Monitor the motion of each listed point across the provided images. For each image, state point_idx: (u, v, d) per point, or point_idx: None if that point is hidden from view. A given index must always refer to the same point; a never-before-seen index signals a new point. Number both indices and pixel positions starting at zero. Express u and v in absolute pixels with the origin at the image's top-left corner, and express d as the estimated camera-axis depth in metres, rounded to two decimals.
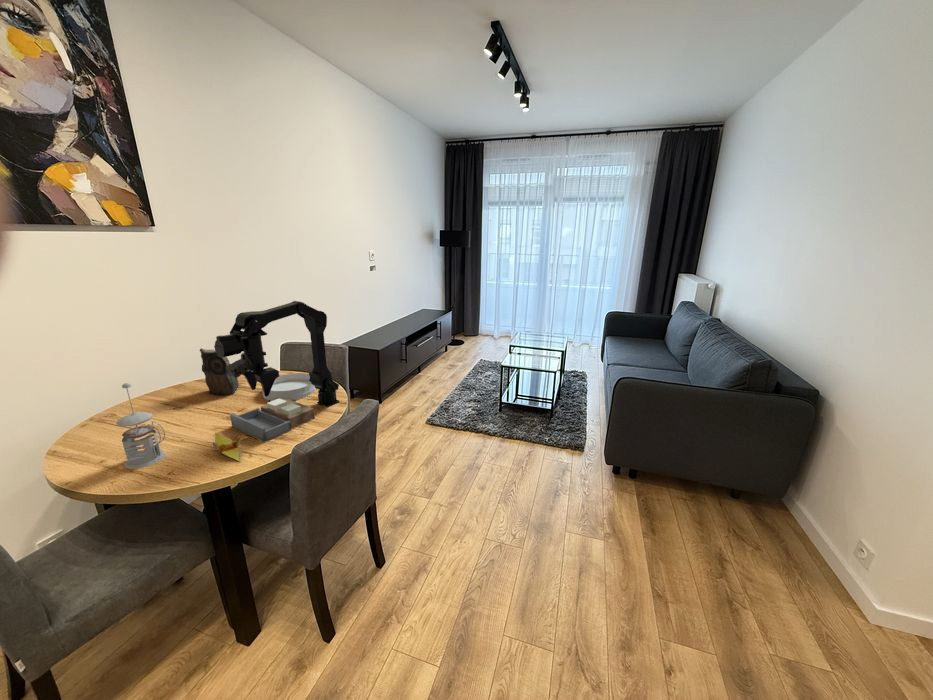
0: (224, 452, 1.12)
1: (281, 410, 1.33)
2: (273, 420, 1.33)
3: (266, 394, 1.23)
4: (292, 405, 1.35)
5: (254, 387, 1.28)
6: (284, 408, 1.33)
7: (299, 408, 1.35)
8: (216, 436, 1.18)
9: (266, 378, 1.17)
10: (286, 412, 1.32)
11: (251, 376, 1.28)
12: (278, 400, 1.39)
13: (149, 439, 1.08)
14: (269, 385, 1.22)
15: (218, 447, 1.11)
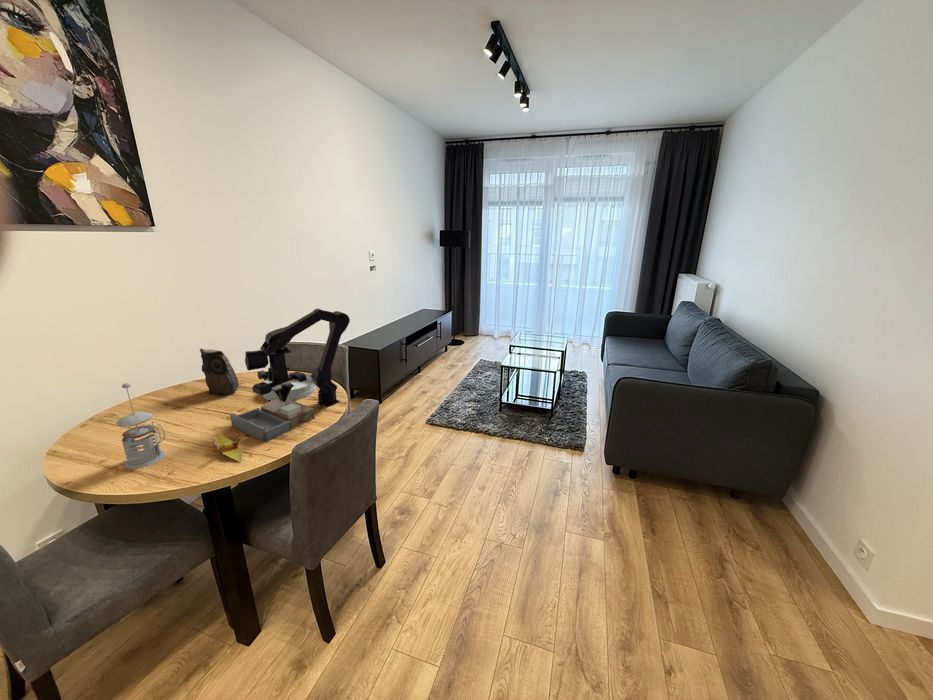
0: (224, 453, 1.12)
1: (281, 410, 1.33)
2: (273, 420, 1.33)
3: None
4: (292, 405, 1.35)
5: None
6: (284, 408, 1.33)
7: (299, 408, 1.35)
8: (217, 436, 1.17)
9: (254, 390, 1.31)
10: (286, 412, 1.32)
11: (283, 391, 1.39)
12: (276, 401, 1.38)
13: (149, 439, 1.08)
14: (280, 395, 1.38)
15: (218, 448, 1.11)
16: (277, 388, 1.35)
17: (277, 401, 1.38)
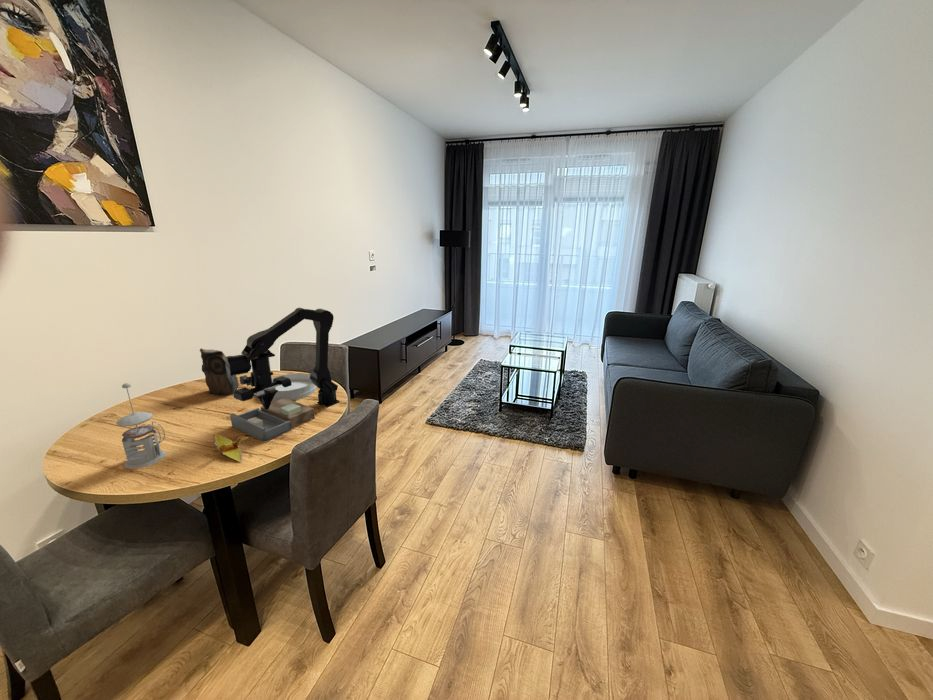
0: (225, 453, 1.12)
1: (281, 410, 1.33)
2: (273, 420, 1.33)
3: None
4: (292, 405, 1.35)
5: None
6: (284, 408, 1.33)
7: (299, 408, 1.35)
8: (217, 436, 1.17)
9: (235, 396, 1.25)
10: (286, 412, 1.32)
11: (267, 396, 1.34)
12: None
13: (149, 439, 1.08)
14: (263, 401, 1.32)
15: (219, 448, 1.11)
16: (260, 394, 1.29)
17: None
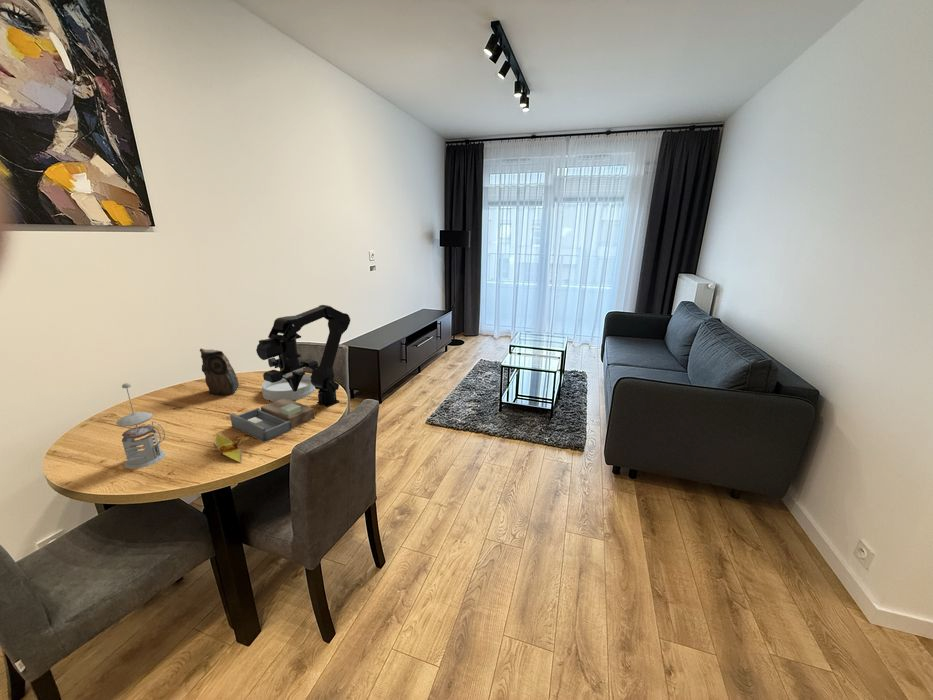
0: (225, 453, 1.12)
1: (281, 410, 1.33)
2: (273, 420, 1.33)
3: (293, 390, 1.36)
4: (292, 405, 1.35)
5: None
6: (284, 408, 1.33)
7: (299, 408, 1.35)
8: (217, 437, 1.17)
9: (265, 378, 1.27)
10: (286, 412, 1.32)
11: None
12: None
13: (149, 439, 1.08)
14: (291, 383, 1.34)
15: (219, 448, 1.11)
16: (288, 376, 1.31)
17: None
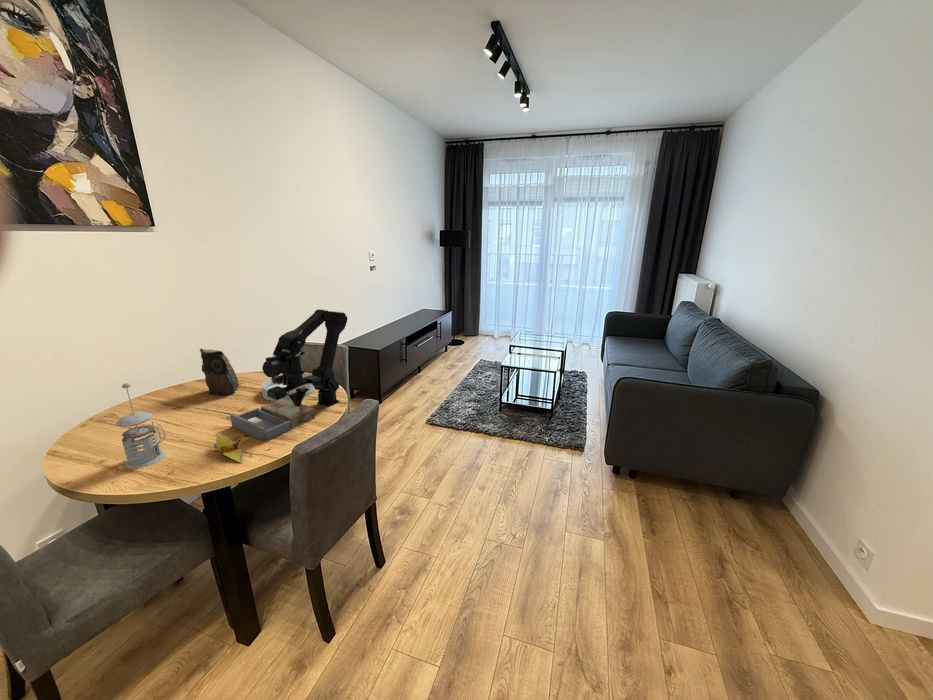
0: (225, 453, 1.12)
1: (279, 411, 1.32)
2: (273, 420, 1.33)
3: None
4: (291, 406, 1.35)
5: (297, 405, 1.36)
6: (282, 409, 1.32)
7: (298, 409, 1.34)
8: (217, 437, 1.17)
9: (269, 395, 1.27)
10: (284, 413, 1.31)
11: None
12: None
13: (149, 439, 1.08)
14: (294, 399, 1.34)
15: (219, 448, 1.11)
16: (292, 392, 1.31)
17: None
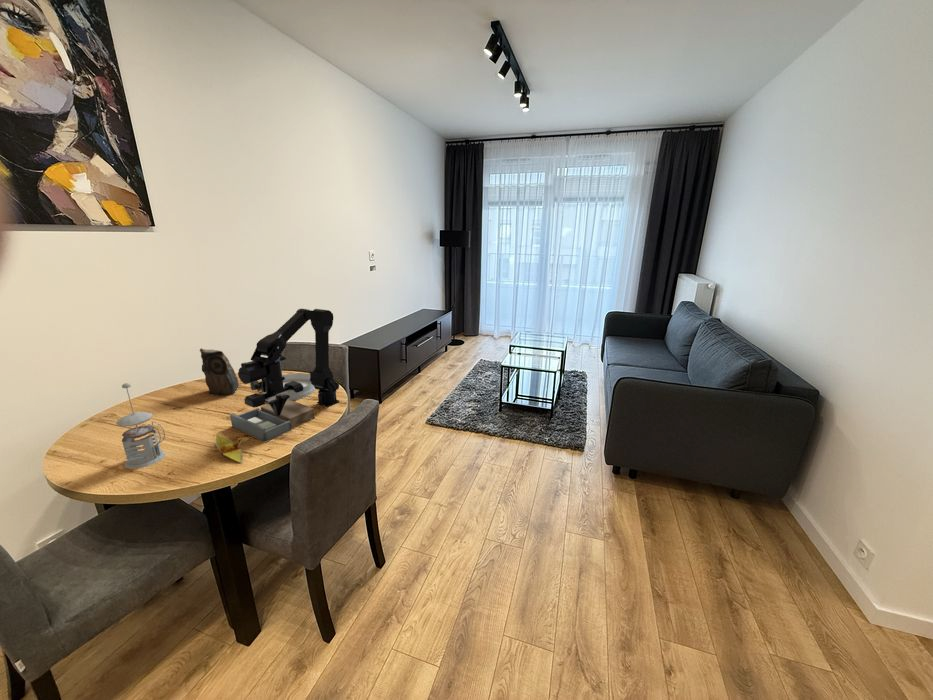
0: (225, 454, 1.12)
1: None
2: (273, 420, 1.33)
3: (276, 414, 1.30)
4: None
5: None
6: None
7: None
8: (217, 437, 1.17)
9: (246, 403, 1.21)
10: None
11: (278, 402, 1.29)
12: None
13: (149, 439, 1.08)
14: (274, 407, 1.27)
15: (219, 449, 1.11)
16: (271, 400, 1.25)
17: None
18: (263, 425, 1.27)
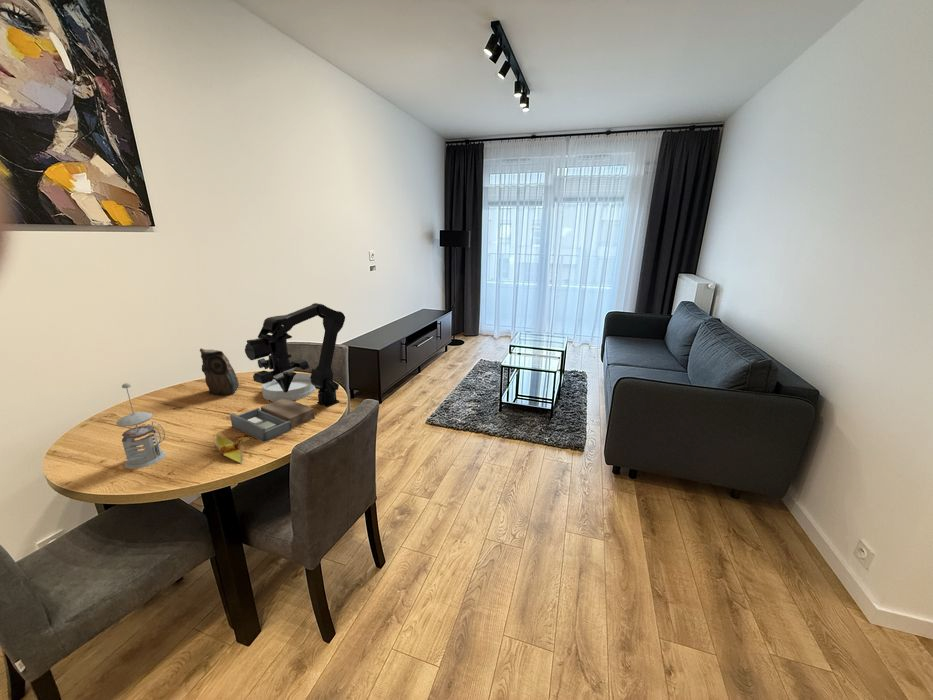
0: (225, 454, 1.11)
1: None
2: (273, 420, 1.33)
3: None
4: None
5: None
6: None
7: None
8: (218, 437, 1.17)
9: (255, 379, 1.25)
10: None
11: (285, 379, 1.33)
12: None
13: (149, 439, 1.08)
14: (282, 384, 1.32)
15: (219, 449, 1.10)
16: (279, 376, 1.29)
17: None
18: (263, 425, 1.27)
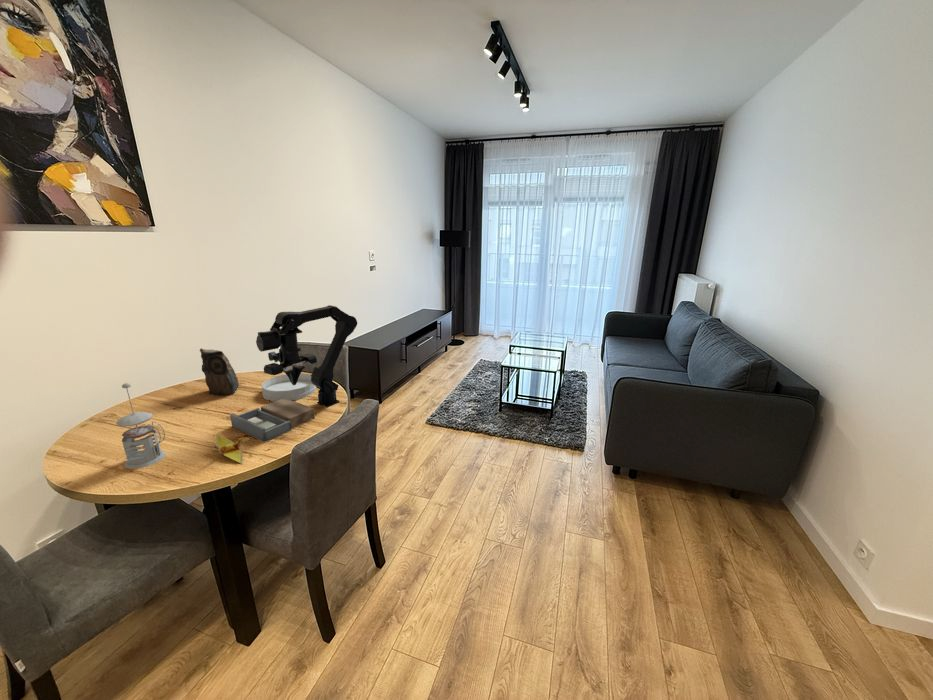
0: (226, 454, 1.11)
1: None
2: (273, 420, 1.33)
3: (292, 383, 1.39)
4: None
5: None
6: None
7: None
8: (218, 437, 1.17)
9: (265, 371, 1.30)
10: None
11: (294, 372, 1.38)
12: None
13: (149, 439, 1.08)
14: (291, 376, 1.36)
15: (220, 449, 1.10)
16: (288, 369, 1.34)
17: None
18: (263, 425, 1.27)
